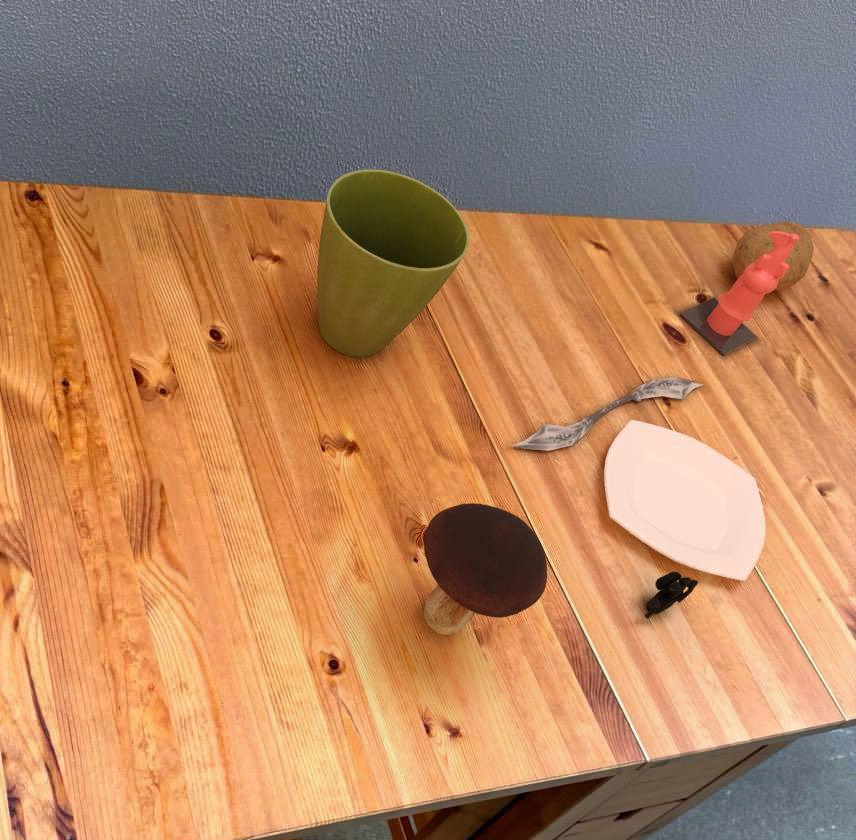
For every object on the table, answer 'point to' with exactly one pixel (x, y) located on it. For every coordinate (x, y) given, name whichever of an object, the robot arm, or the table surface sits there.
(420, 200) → the flower pot
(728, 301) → the figurine
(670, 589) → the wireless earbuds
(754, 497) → the plate
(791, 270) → the potato
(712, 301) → the coaster
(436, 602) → the decorative mushroom
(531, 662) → the table surface
